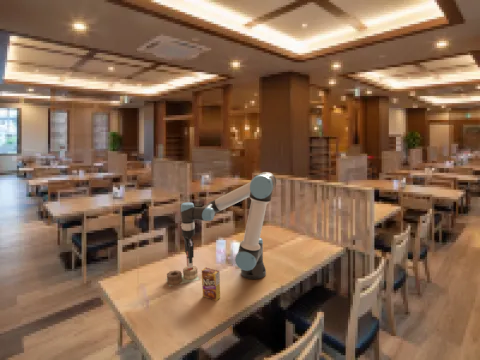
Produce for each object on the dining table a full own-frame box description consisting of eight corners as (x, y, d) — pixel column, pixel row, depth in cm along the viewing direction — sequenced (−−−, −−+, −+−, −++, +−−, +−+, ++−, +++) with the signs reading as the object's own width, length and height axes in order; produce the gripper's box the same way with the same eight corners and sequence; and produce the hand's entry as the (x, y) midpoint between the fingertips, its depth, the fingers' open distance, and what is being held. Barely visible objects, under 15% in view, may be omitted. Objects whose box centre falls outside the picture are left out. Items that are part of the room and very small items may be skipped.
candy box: (202, 297, 156) (201, 270, 153) (206, 293, 159) (205, 266, 157) (216, 301, 151) (215, 273, 149) (220, 297, 155) (219, 270, 152)
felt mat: (195, 272, 183) (195, 272, 183) (199, 280, 174) (199, 279, 174) (165, 279, 175) (165, 278, 175) (169, 287, 166) (169, 286, 166)
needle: (191, 275, 179) (190, 250, 176) (193, 276, 177) (191, 251, 174) (187, 276, 178) (186, 251, 175) (188, 277, 176) (187, 252, 173)
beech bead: (195, 272, 183) (194, 264, 182) (198, 277, 175) (198, 270, 175) (182, 275, 179) (182, 267, 179) (185, 280, 172) (185, 272, 171)
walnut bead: (179, 277, 177) (179, 269, 176) (183, 283, 170) (182, 275, 169) (166, 280, 173) (165, 272, 173) (169, 286, 166) (168, 278, 165)
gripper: (178, 226, 178) (180, 262, 182) (185, 233, 164) (186, 273, 168) (190, 224, 181) (192, 260, 185) (198, 231, 167) (199, 270, 171)
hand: (189, 266), depth 176 cm, fingers closed on needle, 3 cm apart
